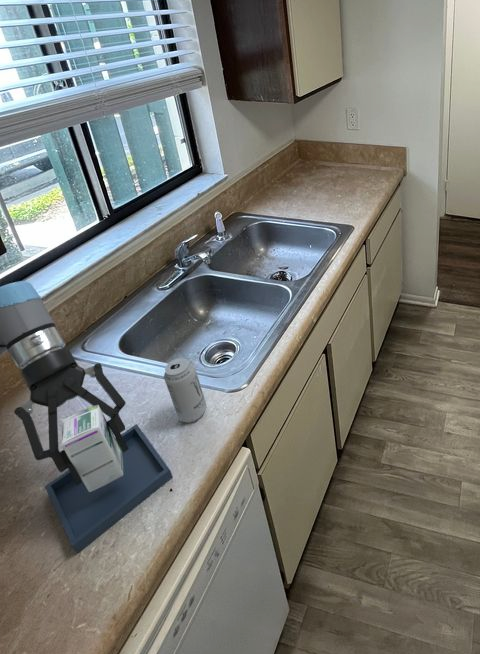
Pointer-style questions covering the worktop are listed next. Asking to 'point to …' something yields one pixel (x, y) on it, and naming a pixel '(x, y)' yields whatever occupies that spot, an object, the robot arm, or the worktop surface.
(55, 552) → the worktop surface
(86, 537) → the tray
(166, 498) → the worktop surface
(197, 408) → the energy drink can
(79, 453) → the syrup box
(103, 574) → the worktop surface
